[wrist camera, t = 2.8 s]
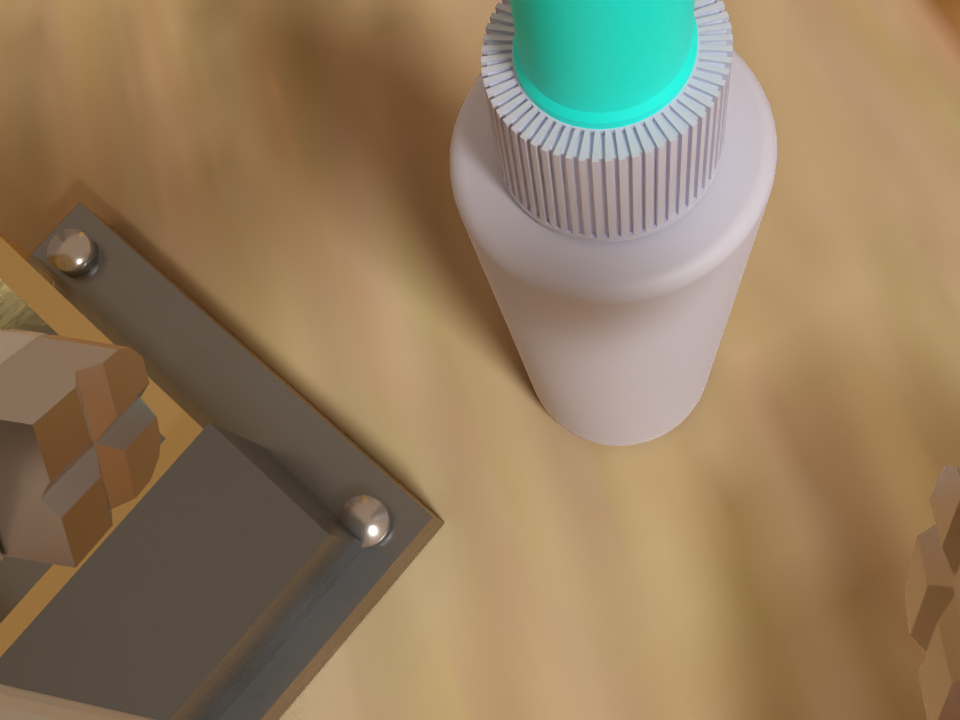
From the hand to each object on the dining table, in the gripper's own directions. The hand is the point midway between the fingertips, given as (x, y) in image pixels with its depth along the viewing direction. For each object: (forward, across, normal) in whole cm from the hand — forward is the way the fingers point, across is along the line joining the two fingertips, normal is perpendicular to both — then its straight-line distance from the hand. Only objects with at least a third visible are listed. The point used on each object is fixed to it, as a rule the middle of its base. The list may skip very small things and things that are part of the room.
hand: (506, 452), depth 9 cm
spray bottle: (+20, 0, -11) cm, 23 cm away
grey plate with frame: (+14, -17, -17) cm, 27 cm away
